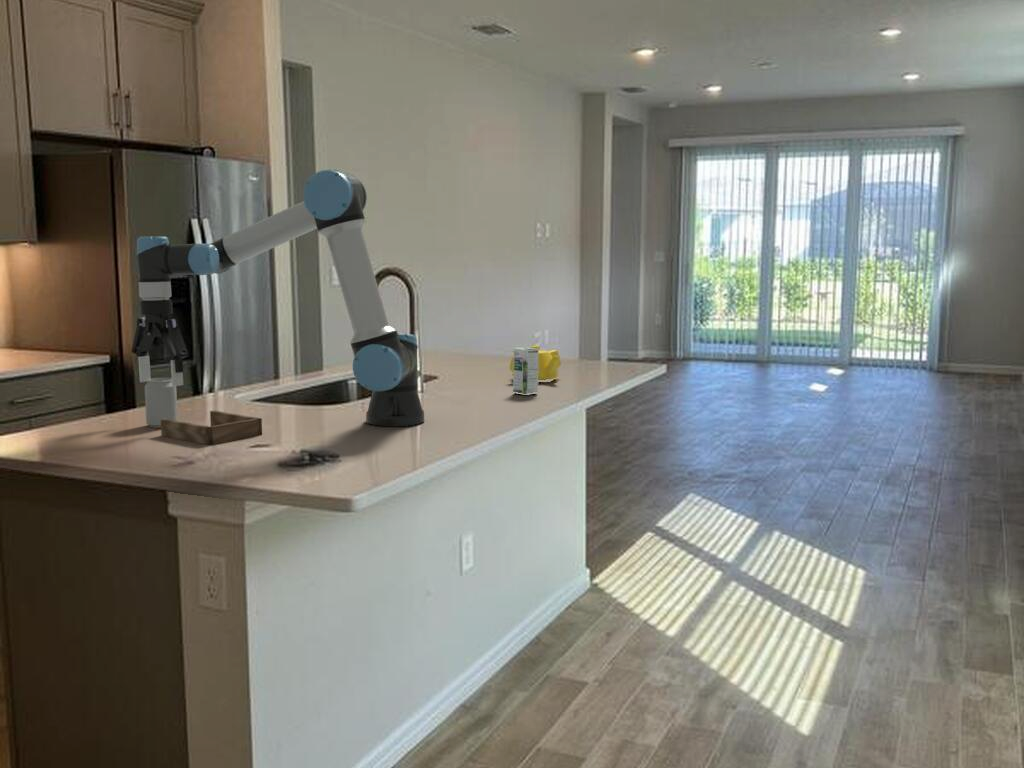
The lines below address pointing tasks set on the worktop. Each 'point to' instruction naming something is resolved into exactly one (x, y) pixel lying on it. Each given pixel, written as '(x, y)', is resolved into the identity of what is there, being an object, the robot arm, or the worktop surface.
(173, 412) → the can
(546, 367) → the teapot
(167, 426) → the walnut box
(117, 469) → the worktop surface
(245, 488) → the worktop surface
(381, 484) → the worktop surface
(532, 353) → the syrup box
